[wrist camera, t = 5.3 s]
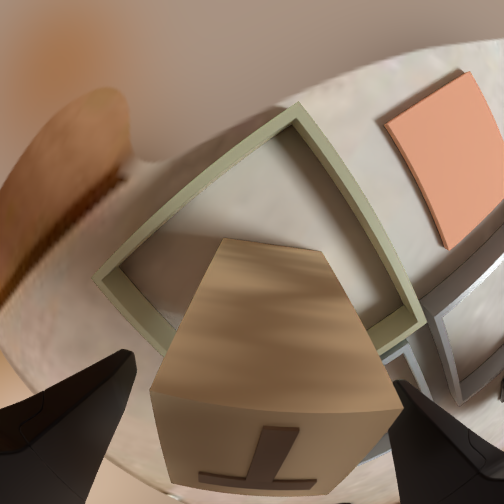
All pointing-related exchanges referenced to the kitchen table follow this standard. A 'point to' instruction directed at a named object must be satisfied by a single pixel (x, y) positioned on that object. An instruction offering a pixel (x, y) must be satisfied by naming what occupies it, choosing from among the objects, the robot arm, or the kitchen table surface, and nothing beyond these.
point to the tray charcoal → (450, 296)
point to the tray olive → (113, 277)
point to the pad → (453, 156)
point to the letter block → (270, 378)
